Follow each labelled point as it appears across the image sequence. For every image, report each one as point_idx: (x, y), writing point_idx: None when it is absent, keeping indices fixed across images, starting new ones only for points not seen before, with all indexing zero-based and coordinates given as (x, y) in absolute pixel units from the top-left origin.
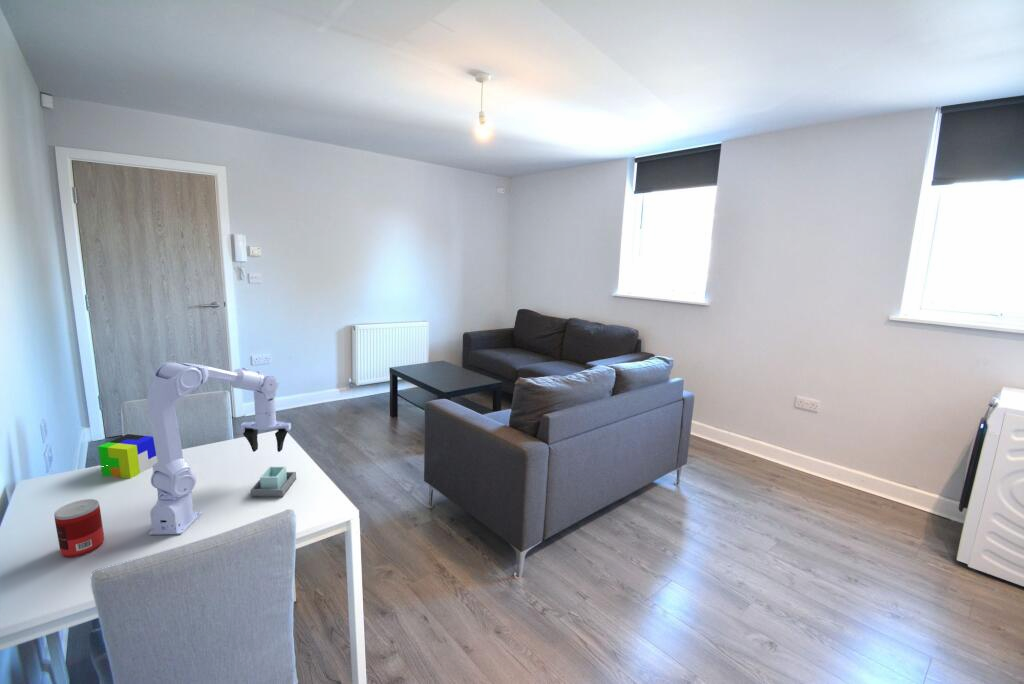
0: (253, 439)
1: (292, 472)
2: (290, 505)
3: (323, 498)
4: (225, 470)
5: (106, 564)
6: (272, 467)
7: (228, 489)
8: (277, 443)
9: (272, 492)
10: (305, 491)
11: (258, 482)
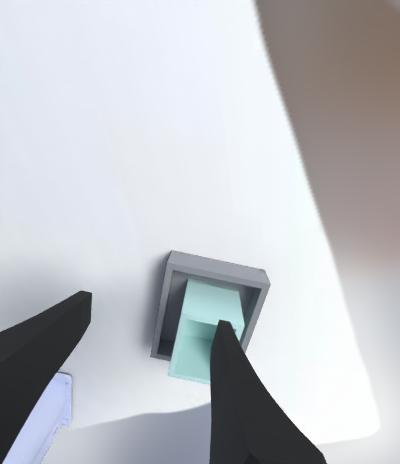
0: (32, 396)
1: (258, 285)
2: None
3: (335, 379)
4: (6, 153)
5: None
6: (193, 319)
7: (80, 286)
8: (213, 412)
9: None
10: (292, 341)
11: (160, 324)
